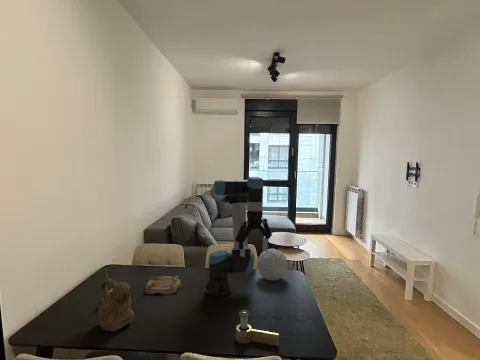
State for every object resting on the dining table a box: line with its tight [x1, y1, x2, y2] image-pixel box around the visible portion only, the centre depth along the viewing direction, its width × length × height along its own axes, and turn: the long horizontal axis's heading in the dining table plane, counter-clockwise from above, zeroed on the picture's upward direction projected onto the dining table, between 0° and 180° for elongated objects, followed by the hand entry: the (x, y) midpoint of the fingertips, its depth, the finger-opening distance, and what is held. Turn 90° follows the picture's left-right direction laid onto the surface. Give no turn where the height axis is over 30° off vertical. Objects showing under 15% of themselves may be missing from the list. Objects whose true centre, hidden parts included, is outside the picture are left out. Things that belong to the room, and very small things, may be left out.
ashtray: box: [144, 274, 183, 296], centre depth 182 cm, size 24×24×5 cm
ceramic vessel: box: [96, 268, 135, 333], centre depth 141 cm, size 17×20×25 cm
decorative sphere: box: [256, 248, 289, 282], centre depth 195 cm, size 20×20×20 cm
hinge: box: [235, 315, 279, 347], centre depth 134 cm, size 21×18×5 cm
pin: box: [239, 309, 250, 331], centre depth 131 cm, size 4×4×12 cm
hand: (254, 253), depth 145 cm, fingers open, 13 cm apart
